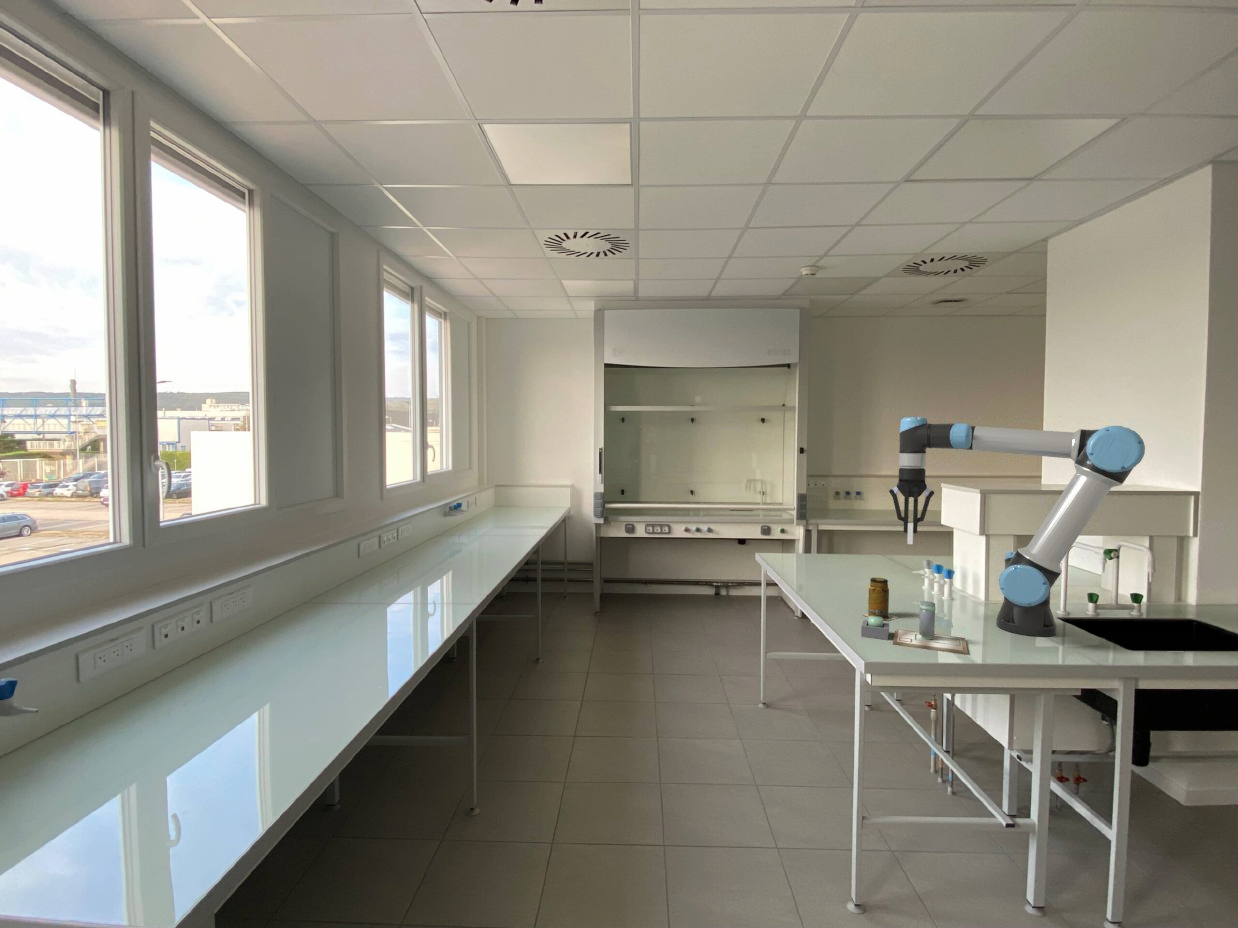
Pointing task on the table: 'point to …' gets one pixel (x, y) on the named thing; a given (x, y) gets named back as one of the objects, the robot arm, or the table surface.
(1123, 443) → the robot arm
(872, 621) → the button
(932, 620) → the marker
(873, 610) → the condiment
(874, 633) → the button box
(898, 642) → the framed board
